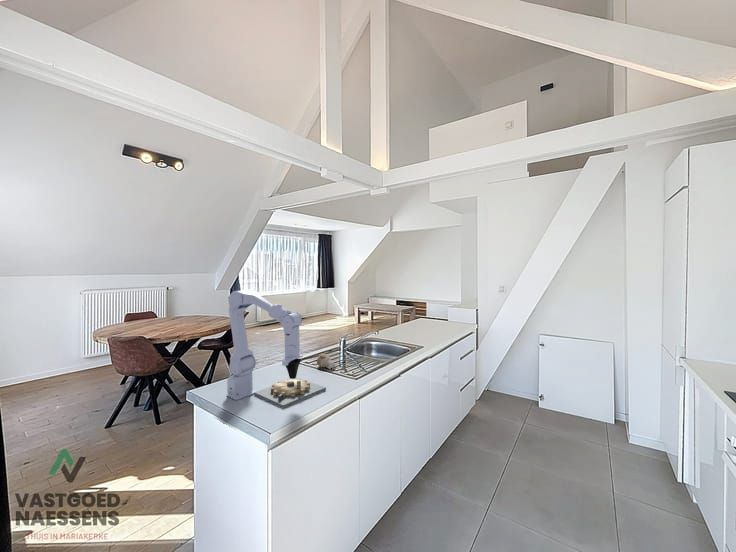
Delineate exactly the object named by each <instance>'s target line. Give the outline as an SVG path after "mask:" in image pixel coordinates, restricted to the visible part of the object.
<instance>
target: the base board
mask: <svg viewBox="0 0 736 552" xmlns="http://www.w3.org/2000/svg"><path fill="white" fill-rule="evenodd" d="M295 379H299V380H303V379H302V378H299V377H296V378H295ZM295 379H290V380H295ZM307 382H310V387H309V391H305V392H304V394H297V395H295V396H293V397H291V396H285V397H283V394H280V395H276V396H275V395H273V393H271V388H272V385H271V386H269V387H266V388H262V389H260V390H256V391H257V392H254V394H253V395H254V396H255V397H258V398H259V399H262V400H264V401H265V402H268V403H271V404H273V405H274V406H277V407H279V408H281V409H285V408H287V407H289V406H292V405H294V404H296V403H297V404H298V403H299V402H301V401H303V400H307V399H308V397H309V398H311V397H313V396H315V394H316V395H317V393H318V394H320V393H323V392H324V390H325V391H327V387H326V386H323V385H320V384H317V383H314V382H311V381H308V380H307ZM322 391H323V392H322ZM310 396H311V397H310Z"/></svg>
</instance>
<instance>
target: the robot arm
mask: <svg viewBox="0 0 736 552" xmlns="http://www.w3.org/2000/svg"><path fill="white" fill-rule="evenodd" d="M227 298H228V304H229V305H228V315H229V321H230V329H231V334H232V343H233V350H234V352H233V353H232V354H231V355H230V357H229V360H230V361H229V371H230V373H231V374H232V375H230V376H229V377H228V378H227V382H226V384H227V385H226V386H227V387H226V389H227V394H226V396H227V397H229V398H231V399H232V400H233V399H234V400H235V401H237V400H240V399H244V398H246V397H249V396H252V395H254V392H257V391H258V390H254V389H253V388H254V386H253V371H254V368H255V367H256V365H257V360H256V358H255V356H254V352H253V351H252V350H251V349H249V344H248V337H247V331H246V324H245V316H244V313H245V312H246V310H247V309H248V308H249V307H251V306H252V305H254V306H256V307H258V308H260V309H262V310H264V311H266V312H267V314H268V316H269V317H270V318H272V319H274V320H275V321H276V322H278V323H280V324H281V327H282V329H283V333H284V356H283V359H282V361H281V363H282V364H281V365H282V366H285V368H286V370H287V374H288V377H289V379H290V380H291V379H295V378H297V376H298V375H297V374H298V370H299V366H300V363H301V361H302V359H301V358H302V357H303V356H304V355H303V353H302V351H303V350H300V349H301V348H300V344H301V343H300V326H301V324H302V323H303V319H302V316H301V314H299V312H298V311H297V312H296V311H294V312H292V311H291V309H287V308H285V307H283V305H282V304H281V303H275V304H273V303H272V302H270V301H269V300H267V299H266V298H264V297H263V296H261V295H260V294H259V292H258V291H255V290H254V289H246V290H245V289H244V290H234V291H232V292H231V293H230V294H229V296H228V297H227Z"/></svg>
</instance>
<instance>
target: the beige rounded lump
mask: <svg viewBox="0 0 736 552" xmlns="http://www.w3.org/2000/svg"><path fill="white" fill-rule="evenodd" d="M316 364H317V365H318V366H319V367H320V366H321V367H320V368H325V367H326V368H327V369H329V370H332V369H334V368H335V367H336V368H337V365H335V363H334V362H333V361H332V359H331V357H330V356H329V355H328V354H327V353H321V354H319V355H318V357H317V358H316ZM331 368H332V369H331Z"/></svg>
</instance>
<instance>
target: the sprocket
mask: <svg viewBox="0 0 736 552" xmlns="http://www.w3.org/2000/svg"><path fill="white" fill-rule="evenodd" d="M299 379H300V378H299ZM299 379H295V380H291V379H290V378H288V379H286V380H279V381H277V383H273V384H271V386H272V388H271V393H273V395H275V396H276V395H280V394H283V397H285V396H291V397H293V396H295V395H297V394H304V392H305V391H309V387H310V382H311V381H308V380H307V379H302V380H299ZM307 381H308V382H307Z"/></svg>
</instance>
